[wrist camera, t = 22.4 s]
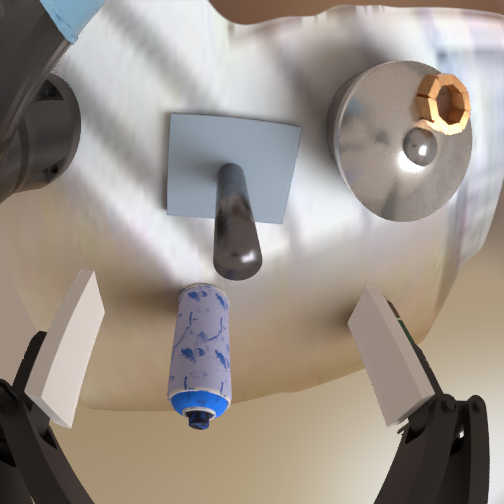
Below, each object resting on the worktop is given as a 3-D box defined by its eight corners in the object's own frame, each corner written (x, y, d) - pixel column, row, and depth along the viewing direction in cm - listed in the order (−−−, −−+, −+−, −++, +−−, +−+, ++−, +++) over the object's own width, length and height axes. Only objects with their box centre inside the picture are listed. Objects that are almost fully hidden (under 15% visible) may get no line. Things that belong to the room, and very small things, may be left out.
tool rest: (168, 210, 33) (167, 215, 32) (173, 113, 27) (171, 114, 26) (280, 219, 35) (282, 224, 34) (299, 126, 29) (302, 128, 28)
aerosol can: (168, 295, 41) (148, 418, 24) (211, 275, 39) (208, 407, 23) (197, 325, 45) (191, 439, 28) (238, 309, 44) (247, 430, 27)
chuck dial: (418, 233, 32) (434, 250, 29) (303, 176, 27) (314, 191, 24) (478, 120, 23) (499, 129, 20) (376, 28, 18) (397, 23, 15)
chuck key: (236, 192, 32) (248, 286, 18) (212, 182, 31) (205, 271, 17) (249, 170, 30) (271, 251, 17) (224, 159, 29) (226, 233, 16)
